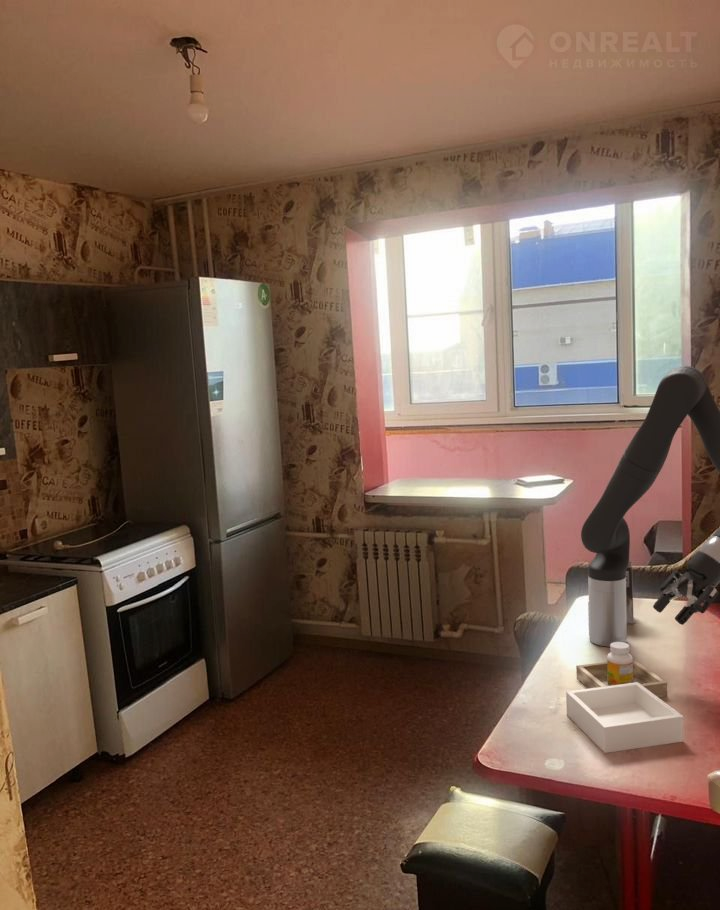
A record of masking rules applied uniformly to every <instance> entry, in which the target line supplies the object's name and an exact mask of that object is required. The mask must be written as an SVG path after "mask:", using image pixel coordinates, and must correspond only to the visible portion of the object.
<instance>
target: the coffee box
mask: <svg viewBox="0 0 720 910" xmlns="http://www.w3.org/2000/svg"><path fill="white" fill-rule="evenodd" d="M633 585H634V583H633V564H632V561H629V564H628V567H627V570H626V618H627V624H634V622H635V621H634V620H635V617H634V593H633V592H634V591H633V588H634V587H633Z"/></svg>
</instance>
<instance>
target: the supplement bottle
mask: <svg viewBox="0 0 720 910" xmlns="http://www.w3.org/2000/svg"><path fill="white" fill-rule="evenodd" d="M609 649H610V652H609V653H607V656H606V657H607V658H606V662H607V675H608V676H607V686H612V685H620V684H627V683H634V675H633V659H634V658H633V656H632V654H630V644H628V643H627V642H626V643H624V642H613V643H611V644H610V648H609Z"/></svg>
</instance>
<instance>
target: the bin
mask: <svg viewBox="0 0 720 910" xmlns="http://www.w3.org/2000/svg"><path fill="white" fill-rule="evenodd" d="M641 684H642V683H640V682H639V681H638V682H633V683H627V684H620V685H612V686H608V685H605V686H604V687H597V688H584V689H576V690H568V691H566V692H565V694H566V695H565V701H566V704H565V705H566V716H567V717H568V718H569V719H570V720H571V721H573V723H575V725H577V727H578V728H580V730H582V732H583V733H584V734H585V735H586V736H588V738H589V739H590V740H591V741H592V742H593V743H595V745H596V746H597V747H598V748H599V749H600V750H601V751H602V752H603V753H604V754H607V753H615V752H619V751H628V750H633V749H641V748H648V747H649V748H650V747H656V746H662V745H668V744H676V743H682V742H684V715H682V714H681V713H680V712H678V711H677V710H675V709H674V708H673V707H672V706H670V705H669V704H668V703H666V702H665V701H664V700H662V699H661V698H660V697H657V696H655V695H654V694H653V693H651V692H650V691H649V690H647V689H646V688H645V687H643V686H642V685H641Z"/></svg>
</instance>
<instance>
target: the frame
mask: <svg viewBox="0 0 720 910" xmlns="http://www.w3.org/2000/svg"><path fill="white" fill-rule="evenodd" d="M575 668H576V680H578V681H579V682H580V681H581V682H580V683H582V684H583V685H584V686H585V687H586V689H589V688H597V687H604V686H606V685H605V684H604V683H603V682H601V680H599V679H598V678H603V677H608V675H607V661H603V662H602V661H601V662H595V663H586V664H579V665H576V666H575ZM634 676H635V678H637V679H638V680H640V681H641V682H642V683H640V684H641V685H642V686H643V687H645V688H646V689H647V690H649V691H650V692H651V693H653V694H654V695H655V696H657V697H658V698H663V697H668V682H667V681H665V680H664V679H663V678H661V677H659V676H658V675H657V674H655V673H654V672H653V671H651V670H650V669H648V668H646V667H645V666H644V665H642V664H641V663H640V662H638V661H636V660H635V659H634V658H633V677H634Z"/></svg>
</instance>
